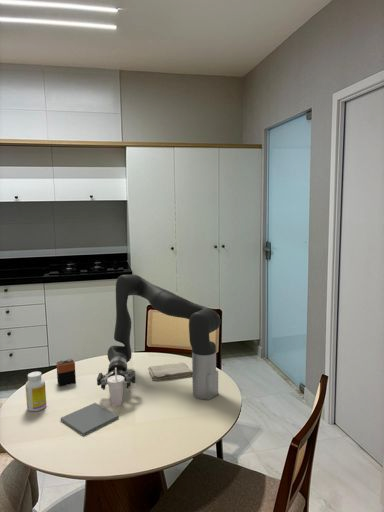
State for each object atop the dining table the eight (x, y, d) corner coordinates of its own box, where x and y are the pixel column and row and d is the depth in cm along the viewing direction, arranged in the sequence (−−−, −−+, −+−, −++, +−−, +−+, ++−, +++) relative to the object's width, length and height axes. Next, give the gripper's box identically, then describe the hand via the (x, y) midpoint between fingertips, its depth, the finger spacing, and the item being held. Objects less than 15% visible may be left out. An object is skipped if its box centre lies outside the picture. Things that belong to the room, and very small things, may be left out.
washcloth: (147, 371, 176) (146, 365, 176) (185, 366, 181) (185, 360, 181) (152, 383, 165) (152, 376, 164) (193, 377, 170) (193, 370, 170)
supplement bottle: (50, 404, 147) (48, 371, 145) (38, 413, 141) (35, 379, 139) (35, 401, 149) (33, 369, 147) (23, 410, 143) (20, 376, 141)
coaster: (118, 418, 137) (118, 415, 136) (83, 435, 126) (83, 433, 126) (95, 405, 146) (95, 402, 146) (60, 420, 136) (60, 417, 135)
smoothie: (110, 409, 143) (109, 372, 141) (105, 401, 148) (104, 366, 147) (127, 405, 146) (126, 368, 144) (122, 397, 151) (121, 362, 150)
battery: (76, 383, 164) (74, 360, 163) (59, 387, 161) (57, 363, 160) (74, 379, 168) (72, 356, 167) (57, 382, 165) (56, 359, 164)
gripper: (99, 361, 159) (95, 378, 143) (135, 358, 161) (135, 375, 145) (100, 378, 160) (96, 397, 144) (135, 376, 162) (135, 394, 146)
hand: (115, 386), depth 144 cm, fingers open, 8 cm apart
